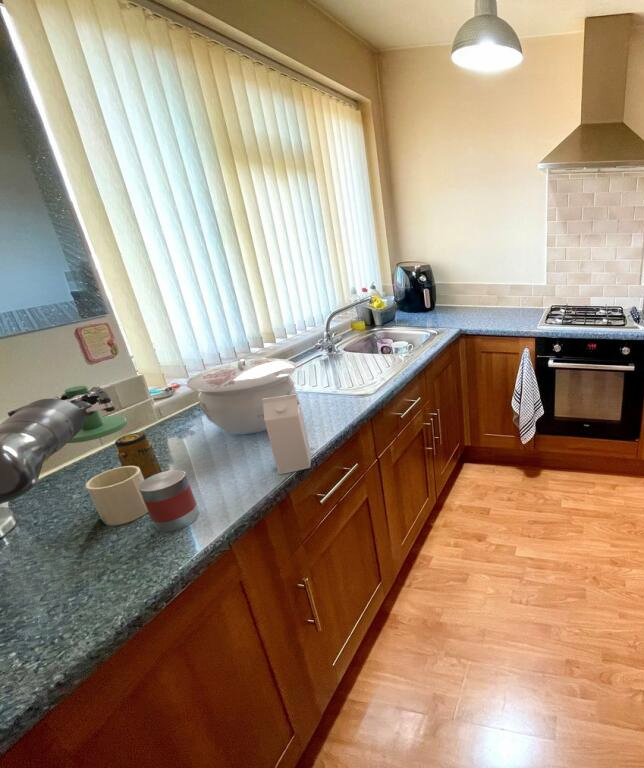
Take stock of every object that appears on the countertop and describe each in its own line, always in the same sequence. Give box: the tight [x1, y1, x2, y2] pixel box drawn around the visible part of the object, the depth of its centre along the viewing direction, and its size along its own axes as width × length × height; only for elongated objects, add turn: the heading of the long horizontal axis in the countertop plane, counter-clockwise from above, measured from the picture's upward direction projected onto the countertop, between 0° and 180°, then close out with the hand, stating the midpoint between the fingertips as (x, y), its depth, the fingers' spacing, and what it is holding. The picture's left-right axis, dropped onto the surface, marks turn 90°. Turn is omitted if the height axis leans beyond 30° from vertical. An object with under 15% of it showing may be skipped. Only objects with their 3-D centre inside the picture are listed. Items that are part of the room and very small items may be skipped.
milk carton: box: [262, 393, 312, 475], centre depth 99 cm, size 7×7×19 cm
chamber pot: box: [186, 357, 297, 435], centre depth 120 cm, size 28×28×21 cm
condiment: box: [114, 432, 163, 480], centre depth 94 cm, size 7×8×12 cm
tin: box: [139, 469, 200, 533], centre depth 82 cm, size 7×7×10 cm
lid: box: [64, 385, 128, 444], centre depth 77 cm, size 10×10×9 cm
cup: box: [85, 466, 149, 526], centre depth 84 cm, size 8×8×9 cm
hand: (86, 393), depth 78 cm, fingers closed on lid, 3 cm apart
